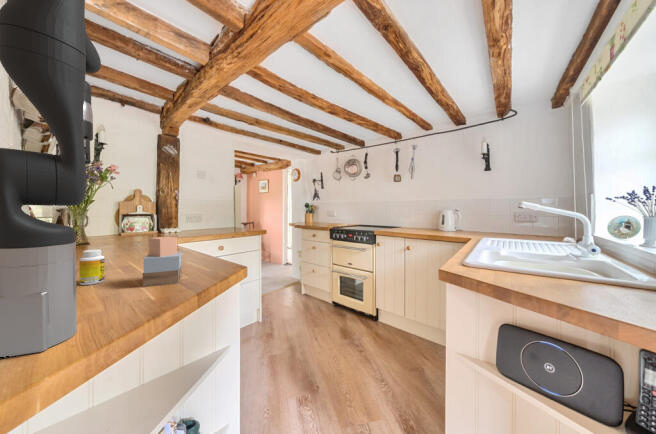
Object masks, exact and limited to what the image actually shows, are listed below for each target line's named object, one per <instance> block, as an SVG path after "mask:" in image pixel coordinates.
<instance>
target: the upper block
mask: <svg viewBox="0 0 656 434" xmlns="http://www.w3.org/2000/svg"><path fill="white" fill-rule="evenodd" d="M181 264H182V251H180V250H179V251H177V254H174V255H168V256H162V257H158V256H151V255H149V253H148V254H147V255H145V256H144V258H143V272H144V273H153V272H164V271H175V270H179V269H180V267H181Z"/></svg>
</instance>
